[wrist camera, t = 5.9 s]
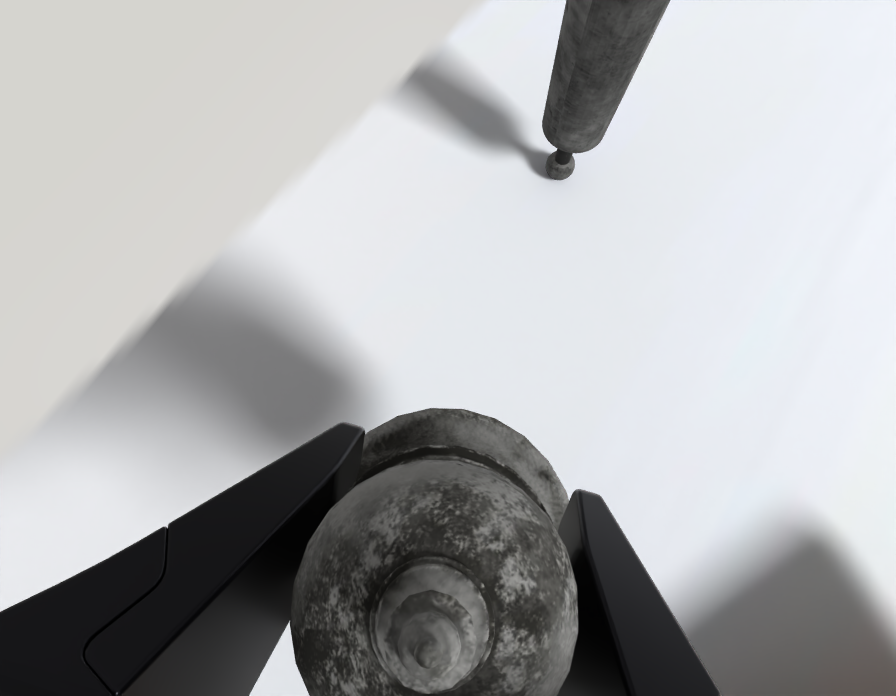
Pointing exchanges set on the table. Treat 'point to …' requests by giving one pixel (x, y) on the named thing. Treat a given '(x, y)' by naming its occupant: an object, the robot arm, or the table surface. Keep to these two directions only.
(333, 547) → the grey rounded piece
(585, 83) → the microphone
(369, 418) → the table surface
